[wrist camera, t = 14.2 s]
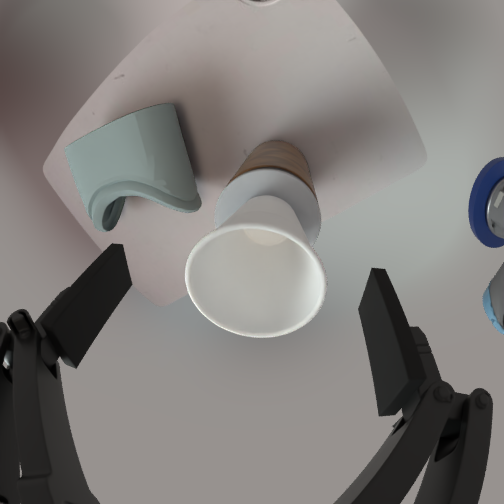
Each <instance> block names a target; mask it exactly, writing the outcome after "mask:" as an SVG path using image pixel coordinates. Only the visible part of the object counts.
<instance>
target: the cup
mask: <svg viewBox="0 0 504 504" xmlns="http://www.w3.org/2000/svg"><path fill="white" fill-rule="evenodd" d="M185 282H186V286H187V290H188V293H189V295H190V297H191V299H192V301H193V303H194V304H195V305H196V307H197V308H198V310H199V311H200V312H201V313H202V314H203V315H204V316H205V317H206V318H208V319H209V320H210V321H212V322H213V323H214V324H216V325H217V326H219V327H221V328H223V329H225V330H227V331H230V332H233V333H236V334H239V335H243V336H249V337H261V338H265V337H276V336H280V335H284V334H288V333H290V332H292V331H295V330H297V329H299V328H301V327H302V326H304V325H305V324H307V323H308V322H309V321H310V320H311V319H312V318H313V317H314V316H315V315H316V314H317V312H318V311H319V309H320V308H321V306H322V304H323V302H324V299H325V297H326V291H327V277H326V271H325V268H324V266H323V263H322V261H321V259H320V258H319V256H318V255H317V253H316V252H315V250H314V249H313V248H312V247H311V245H310V243H309V241H308V239H307V237H306V235H305V233H304V231H303V229H302V226H301V224H300V222H299V220H298V218H297V216H296V214H295V212H294V210H293V209H292V207H291V206H290V205H289V204H288V203H287V202H285V201H284V200H282V199H280V198H278V197H275V196H270V195H262V196H257V197H254V198H252V199H250V200H248V201H247V202H245V203H244V204H243V205H242V206H241V207H240V208H239V209H238V210H237V211H236V212H235V213H234V214H232V215H231V216H230V217H229V218H228V219H227V220H226V221H225V222H224V223H222V224H221V225H220V226H219V227H218V228H217V229H215V230H213V231H211V232H210V233H209V234H207V235H206V236H204V237H203V238H202V239H201V240H200V241H199V242H198V243H197V244H196V245H195V246H194V248H193V249H192V251H191V253H190V255H189V257H188V260H187V264H186V268H185Z"/></svg>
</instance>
